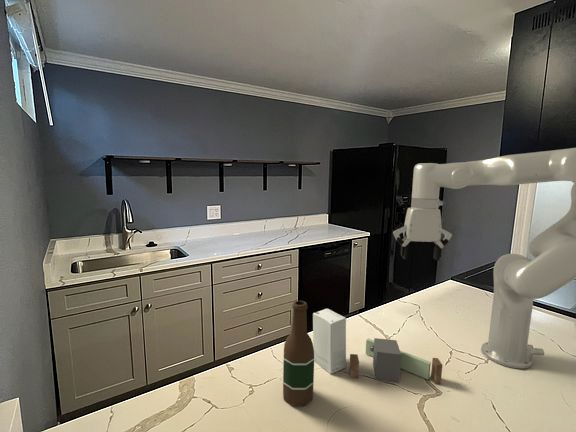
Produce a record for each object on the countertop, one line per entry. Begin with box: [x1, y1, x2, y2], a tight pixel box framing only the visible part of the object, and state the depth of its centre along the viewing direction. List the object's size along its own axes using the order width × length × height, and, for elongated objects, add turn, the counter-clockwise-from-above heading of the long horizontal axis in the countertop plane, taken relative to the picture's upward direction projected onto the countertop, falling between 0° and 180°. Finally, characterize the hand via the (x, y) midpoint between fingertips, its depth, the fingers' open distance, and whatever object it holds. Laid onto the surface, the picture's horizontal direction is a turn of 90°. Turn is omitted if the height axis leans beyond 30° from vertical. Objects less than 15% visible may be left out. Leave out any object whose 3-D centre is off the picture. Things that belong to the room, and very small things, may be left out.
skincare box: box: [312, 308, 347, 374], centre depth 88 cm, size 8×6×15 cm
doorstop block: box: [372, 337, 401, 384], centre depth 85 cm, size 6×7×8 cm
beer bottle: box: [282, 300, 315, 407], centre depth 74 cm, size 8×8×24 cm
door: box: [365, 337, 432, 380], centre depth 88 cm, size 18×2×4 cm, turn 50°
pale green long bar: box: [348, 353, 443, 385], centre depth 83 cm, size 23×3×6 cm, turn 85°
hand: (420, 258), depth 96 cm, fingers open, 9 cm apart
